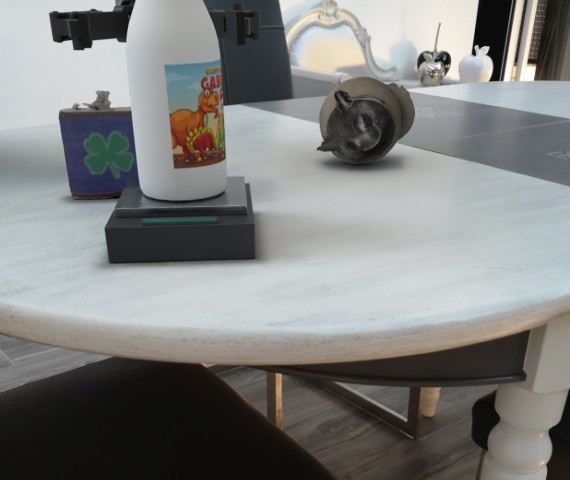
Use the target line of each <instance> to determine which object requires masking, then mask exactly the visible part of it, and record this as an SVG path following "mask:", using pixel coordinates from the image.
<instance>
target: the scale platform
mask: <svg viewBox="0 0 570 480" xmlns="http://www.w3.org/2000/svg"><path fill="white" fill-rule="evenodd" d="M245 183H246V179H245V175H234V176H231V175H229V176H228V175H227V185H226V187H225V189H224V191H223V192H221V193H220V194H217V195H215V196H211V197H207V198H202V199H194V200H162V199H156V198H152V197H149V196H146V195H145V194H144V193H143V192H142V190H141V188H140V182H139V179H129V181H128V183H127V185H126V186H125V188H124V190H123V192H122V194H121V196H120V197H118V200H117V202H116V204H115V206H114V208H113V210H114V213H115V218H131V217H169V216H206V215H243V214H247V198H246V188H245Z"/></svg>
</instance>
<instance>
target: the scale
mask: <svg viewBox="0 0 570 480" xmlns="http://www.w3.org/2000/svg"><path fill="white" fill-rule="evenodd" d="M245 188H246V198H247V214H243V215H206V216H169V217H131V218H115V213H114V209H113V210H112V212H111V214H110V216H109V218H108V220H107V222H106V224H105V226H104V236H105V244H106V250H107V258H108V263H109V264H116V263H117V264H118V263H144V262H146V263H147V262H148V263H149V262H175V261H176V262H177V261H178V262H181V261H210V260H211V261H212V260H243V259H256V231H255V230H256V229H255V228H256V225H255V216H254V208H253V199H252V192H251V183H250V182H245Z"/></svg>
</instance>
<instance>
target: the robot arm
mask: <svg viewBox="0 0 570 480" xmlns="http://www.w3.org/2000/svg"><path fill="white" fill-rule="evenodd" d="M135 1H136V0H114V2H115V5H114V6H113V9H112V11H111V10H110V11H103V10H100V9H96V8H90V9H89V10H78V11H77V10H72V11H60V12H59V10H52V11H49V12H48V16H49V24H50V30H51V36H52V42H54V43H57V44H62V43H64V42H69V41H71V42H72V49H73V51H85V49H92V47H93V44H94V41H102V40H103V41H105V40H114V39H115V40H116V41H117V42H118V43H125V44H126V41H127V32H128V26H129V22H130V18H131V15H132V12H133V8H134V5H135ZM206 9H207V11H208V13H209V15H210V17H211V20H212V22H213V25H214V28H215V31H216V35H217V39H226V40H225V41H226V42H229V43H231V44H233V45H236V46H246V39H251V40H254V41H256V40H260V39H261V38H262V37H261V11H260V10H257V9H251V10H244V2H233V3H232V9H214V8H213V7H208V8H206Z"/></svg>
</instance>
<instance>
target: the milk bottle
mask: <svg viewBox="0 0 570 480" xmlns="http://www.w3.org/2000/svg"><path fill="white" fill-rule="evenodd" d="M207 9H208V8H207V6H206V4H205V2H204V0H136V1H135V5H134V8H133V12H132V15H131V18H130V22H129V26H128V32H127V41H126V43H125V46H126V49H125V50H126V51H125V54H126V68H127V79H128V91H129V101H130V107H131V111H132V121H133V130H134V139H135V148H136V157H137V166H138V175H139V182H140V188H141V190H142V192H143V193H144V194H145V195H146V196H149V197H152V198H156V199H162V200H194V199H202V198H207V197H211V196H215V195H217V194H220V193H221V192H223V191H224V189H225V187H226V185H227V177H228V175H227V174H228V173H227V172H228V171H227V169H228V168H227V150H226V149H227V148H226V129H225V127H226V126H225V109H224V92H223V89H224V88H223V74H222V62H221V50H220V45H219V38H217V35H216V31H215V28H214V25H213V22H212V20H211V17H210V15H209V13H208V11H207Z"/></svg>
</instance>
